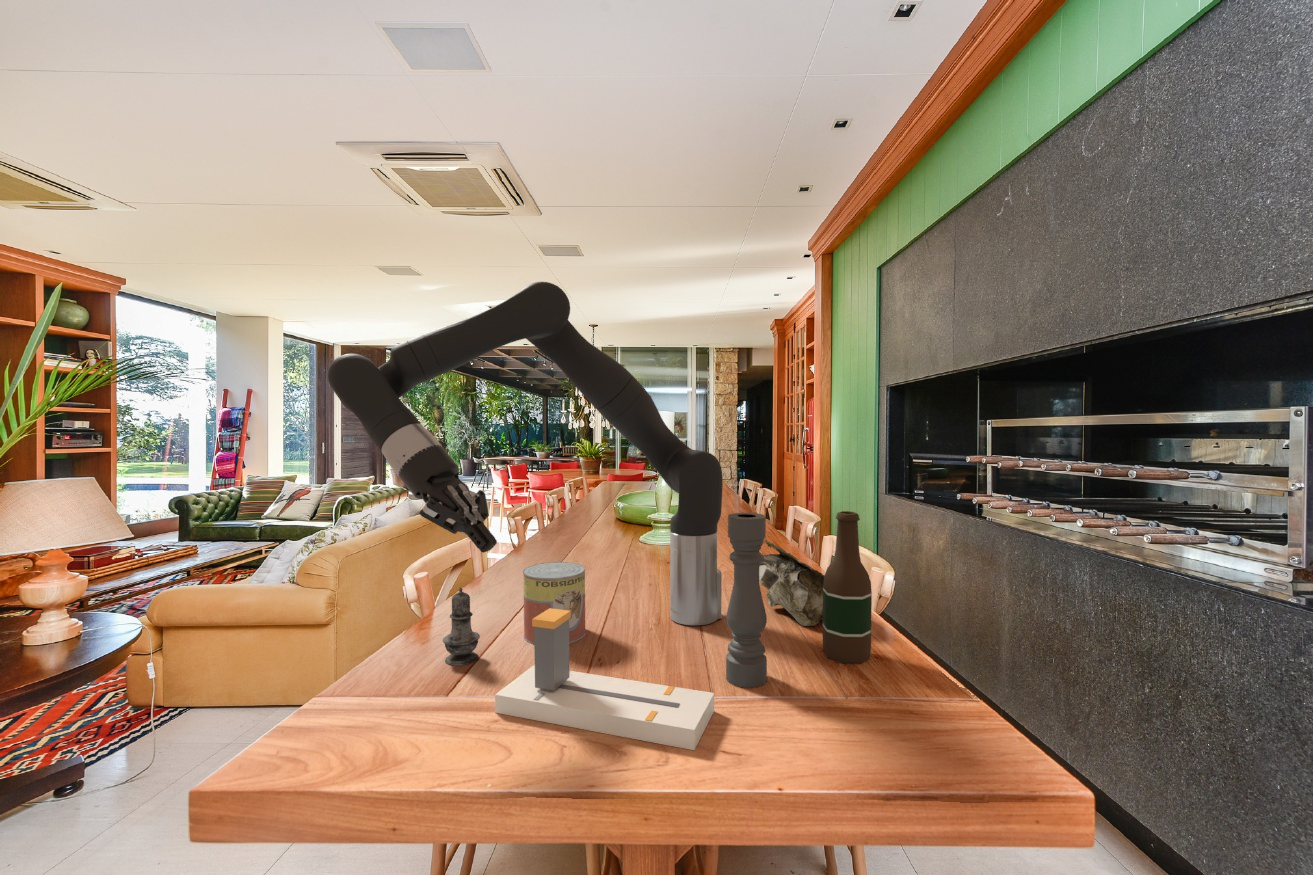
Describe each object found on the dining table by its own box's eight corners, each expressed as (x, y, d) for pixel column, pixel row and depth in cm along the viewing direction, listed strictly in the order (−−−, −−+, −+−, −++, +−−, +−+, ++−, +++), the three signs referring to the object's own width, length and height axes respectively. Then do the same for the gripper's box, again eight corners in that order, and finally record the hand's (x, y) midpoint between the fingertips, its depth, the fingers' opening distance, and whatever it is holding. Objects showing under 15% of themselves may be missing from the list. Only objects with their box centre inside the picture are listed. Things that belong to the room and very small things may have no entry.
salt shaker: (469, 667, 96) (467, 593, 95) (435, 664, 97) (434, 591, 96) (486, 653, 101) (485, 583, 101) (455, 650, 103) (453, 581, 102)
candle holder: (769, 672, 93) (770, 513, 92) (763, 690, 87) (764, 520, 86) (730, 667, 95) (730, 511, 94) (721, 684, 89) (721, 518, 88)
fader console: (495, 712, 81) (495, 693, 81) (533, 681, 91) (533, 664, 91) (694, 750, 72) (694, 729, 72) (714, 710, 81) (714, 692, 81)
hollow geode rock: (770, 607, 139) (726, 562, 138) (808, 568, 140) (765, 523, 139) (816, 651, 111) (761, 595, 110) (863, 602, 112) (809, 546, 111)
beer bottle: (873, 650, 102) (874, 510, 101) (868, 668, 95) (870, 517, 94) (826, 643, 105) (827, 507, 104) (818, 659, 98) (819, 514, 97)
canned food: (544, 651, 102) (543, 581, 102) (512, 633, 111) (511, 569, 110) (597, 635, 110) (597, 570, 109) (564, 619, 118) (563, 558, 118)
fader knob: (532, 687, 82) (532, 619, 82) (550, 673, 87) (549, 608, 86) (554, 691, 81) (554, 621, 81) (571, 676, 86) (570, 610, 85)
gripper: (402, 445, 83) (478, 540, 79) (462, 441, 95) (530, 523, 92) (372, 482, 85) (445, 576, 81) (435, 473, 97) (501, 554, 94)
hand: (490, 547), depth 86 cm, fingers closed
